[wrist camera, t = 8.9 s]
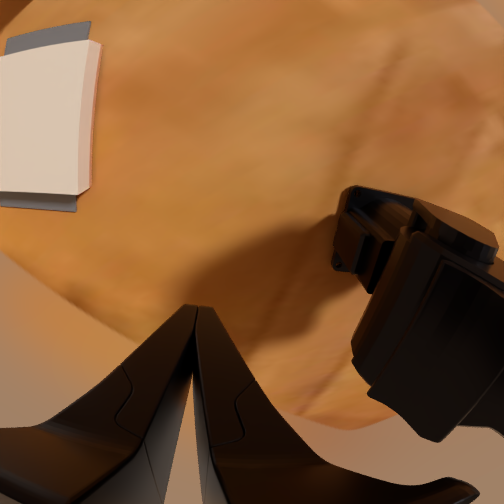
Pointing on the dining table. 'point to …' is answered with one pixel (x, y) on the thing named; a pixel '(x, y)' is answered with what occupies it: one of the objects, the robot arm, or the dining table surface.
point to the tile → (48, 117)
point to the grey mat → (30, 42)
